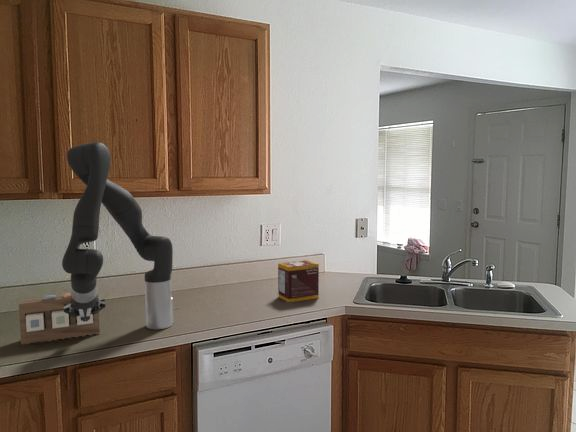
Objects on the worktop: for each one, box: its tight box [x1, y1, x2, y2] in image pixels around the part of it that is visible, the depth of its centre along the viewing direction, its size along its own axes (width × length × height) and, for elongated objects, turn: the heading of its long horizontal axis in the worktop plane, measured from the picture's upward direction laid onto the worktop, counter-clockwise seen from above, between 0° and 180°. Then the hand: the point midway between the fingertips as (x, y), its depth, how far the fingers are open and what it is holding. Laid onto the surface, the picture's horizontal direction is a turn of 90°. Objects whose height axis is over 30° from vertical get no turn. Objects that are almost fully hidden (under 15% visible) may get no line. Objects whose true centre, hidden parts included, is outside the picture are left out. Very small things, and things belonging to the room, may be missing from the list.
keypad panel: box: [18, 292, 101, 345], centre depth 159 cm, size 6×24×15 cm, turn 115°
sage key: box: [52, 309, 69, 328], centre depth 156 cm, size 5×5×5 cm
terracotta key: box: [77, 314, 93, 325], centre depth 159 cm, size 5×5×5 cm
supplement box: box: [277, 259, 320, 303], centre depth 206 cm, size 10×15×16 cm
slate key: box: [26, 312, 45, 332], centre depth 153 cm, size 5×5×5 cm
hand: (85, 319), depth 155 cm, fingers closed
